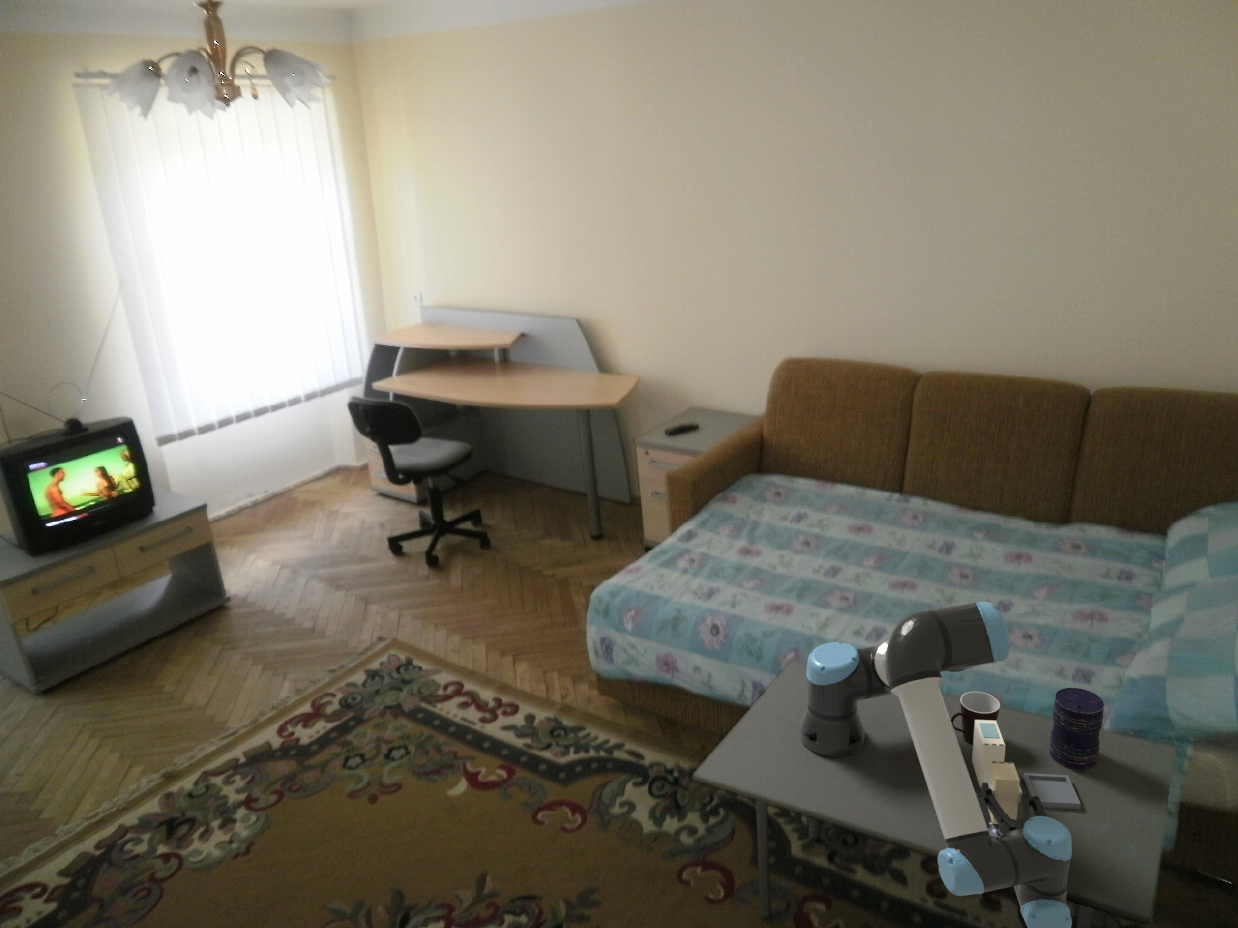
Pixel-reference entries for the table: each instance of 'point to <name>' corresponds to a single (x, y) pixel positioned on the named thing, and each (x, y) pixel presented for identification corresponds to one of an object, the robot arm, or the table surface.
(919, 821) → the table surface
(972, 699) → the coffee mug
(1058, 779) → the tray
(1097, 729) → the storage jar
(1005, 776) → the cream rectangular block
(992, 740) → the cream box with panel
